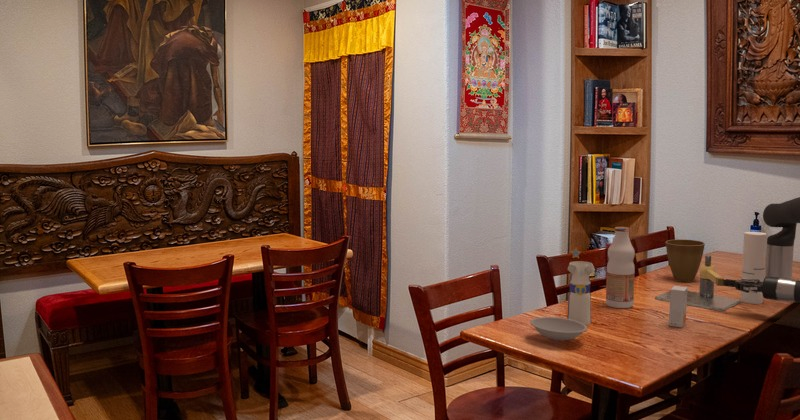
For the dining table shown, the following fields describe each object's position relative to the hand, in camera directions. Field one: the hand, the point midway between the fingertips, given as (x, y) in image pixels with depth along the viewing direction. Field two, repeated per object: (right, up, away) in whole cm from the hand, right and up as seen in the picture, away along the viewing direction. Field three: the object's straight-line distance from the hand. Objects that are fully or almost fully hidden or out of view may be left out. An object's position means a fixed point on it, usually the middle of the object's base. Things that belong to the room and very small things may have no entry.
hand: (724, 282), depth 235 cm
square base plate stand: (-3, -8, +15) cm, 17 cm away
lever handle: (0, -1, +10) cm, 10 cm away
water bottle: (-53, -12, -11) cm, 55 cm away
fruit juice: (-33, -9, +9) cm, 36 cm away
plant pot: (+6, -4, +48) cm, 48 cm away
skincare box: (-22, -12, -15) cm, 29 cm away
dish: (-64, -14, -30) cm, 72 cm away
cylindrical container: (+16, -8, +13) cm, 23 cm away
